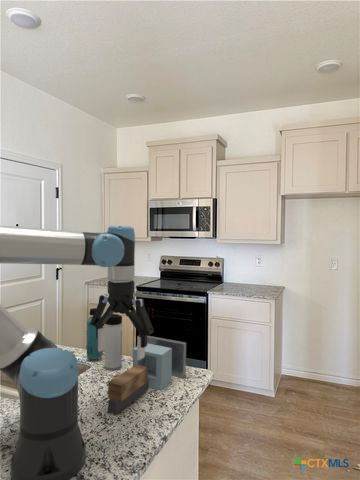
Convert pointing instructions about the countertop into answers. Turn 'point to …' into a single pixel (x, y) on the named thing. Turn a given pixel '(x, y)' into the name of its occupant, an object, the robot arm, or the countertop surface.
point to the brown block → (127, 382)
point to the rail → (126, 400)
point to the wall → (173, 354)
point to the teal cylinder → (92, 339)
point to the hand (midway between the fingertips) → (120, 354)
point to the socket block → (156, 365)
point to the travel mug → (113, 343)
